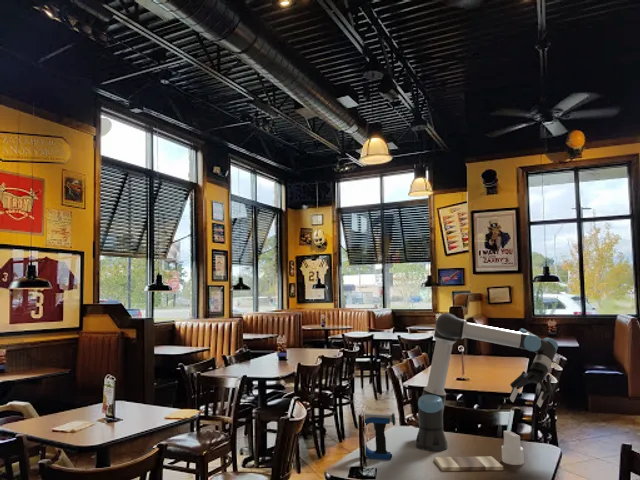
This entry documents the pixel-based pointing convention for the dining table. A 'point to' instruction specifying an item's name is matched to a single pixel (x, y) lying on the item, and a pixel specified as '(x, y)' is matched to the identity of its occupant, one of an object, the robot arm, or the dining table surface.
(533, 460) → the dining table surface
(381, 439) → the cordless power drill
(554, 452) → the dining table surface
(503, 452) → the base with upright slab
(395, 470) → the dining table surface
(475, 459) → the pine board
